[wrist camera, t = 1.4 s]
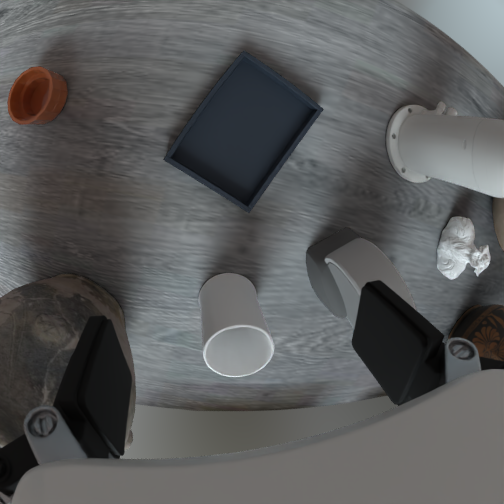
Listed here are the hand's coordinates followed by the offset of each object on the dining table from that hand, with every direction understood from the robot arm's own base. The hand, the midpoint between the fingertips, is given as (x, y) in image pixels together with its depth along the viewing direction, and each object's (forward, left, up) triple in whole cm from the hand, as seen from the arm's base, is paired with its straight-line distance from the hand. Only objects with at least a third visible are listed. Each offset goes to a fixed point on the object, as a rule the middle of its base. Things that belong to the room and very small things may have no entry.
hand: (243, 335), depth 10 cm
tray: (-9, -1, -28) cm, 30 cm away
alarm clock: (-1, +23, -28) cm, 37 cm away
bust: (-18, +41, -28) cm, 53 cm away
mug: (+13, +11, -28) cm, 33 cm away
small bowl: (0, -27, -28) cm, 39 cm away
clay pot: (+27, -8, -28) cm, 40 cm away
